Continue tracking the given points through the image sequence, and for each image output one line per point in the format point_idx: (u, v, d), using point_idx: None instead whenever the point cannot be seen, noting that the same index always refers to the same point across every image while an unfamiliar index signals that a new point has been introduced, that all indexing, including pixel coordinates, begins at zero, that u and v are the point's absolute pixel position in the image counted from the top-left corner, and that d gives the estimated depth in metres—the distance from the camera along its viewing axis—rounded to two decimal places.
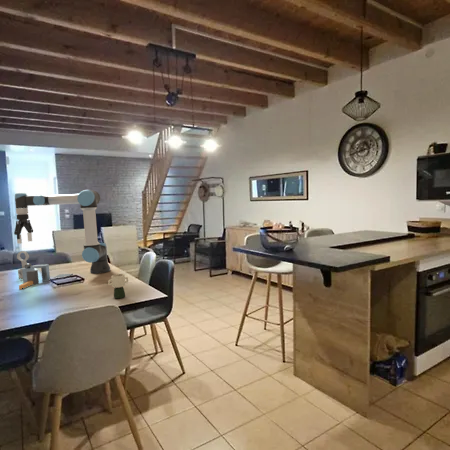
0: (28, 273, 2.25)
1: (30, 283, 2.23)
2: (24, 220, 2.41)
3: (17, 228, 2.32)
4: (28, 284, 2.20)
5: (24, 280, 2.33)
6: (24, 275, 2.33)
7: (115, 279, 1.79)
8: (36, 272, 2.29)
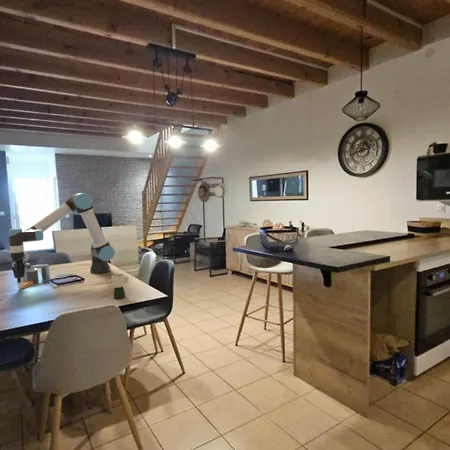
0: (28, 273, 2.25)
1: (30, 283, 2.23)
2: (19, 259, 2.12)
3: (15, 272, 2.08)
4: (28, 284, 2.20)
5: (24, 280, 2.33)
6: (24, 275, 2.33)
7: (115, 279, 1.79)
8: (36, 272, 2.29)
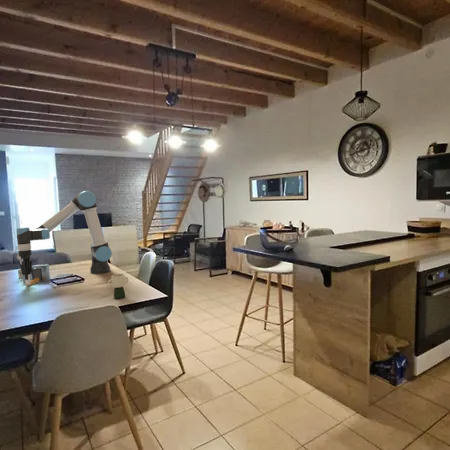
0: (35, 270, 2.34)
1: (37, 280, 2.31)
2: (27, 256, 2.20)
3: (23, 269, 2.16)
4: (35, 281, 2.29)
5: (24, 280, 2.33)
6: (24, 275, 2.33)
7: (115, 279, 1.79)
8: None
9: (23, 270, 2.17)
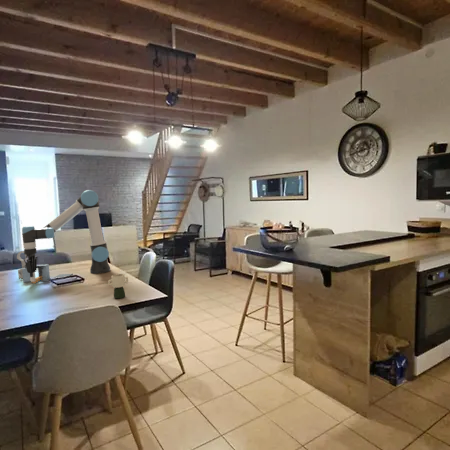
0: (39, 268, 2.40)
1: (41, 278, 2.38)
2: (32, 255, 2.27)
3: (28, 267, 2.23)
4: (40, 279, 2.35)
5: (24, 280, 2.33)
6: (24, 275, 2.33)
7: (115, 279, 1.79)
8: None
9: (28, 268, 2.23)
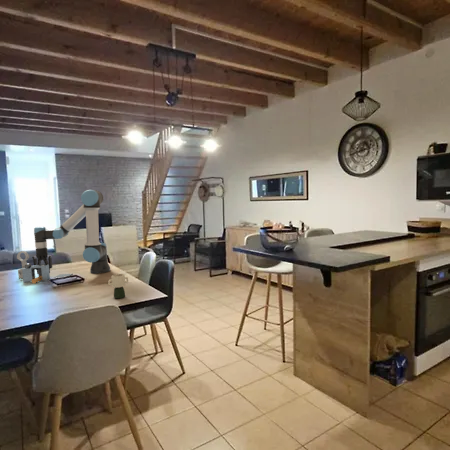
0: (39, 268, 2.40)
1: (41, 278, 2.38)
2: (41, 254, 2.41)
3: None
4: (40, 279, 2.35)
5: (24, 280, 2.33)
6: (24, 275, 2.33)
7: (115, 279, 1.79)
8: None
9: None
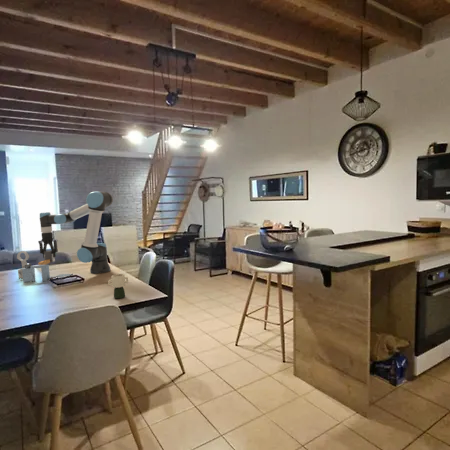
0: (45, 252, 2.49)
1: (48, 261, 2.47)
2: (46, 238, 2.50)
3: None
4: (46, 262, 2.44)
5: (24, 280, 2.33)
6: (24, 275, 2.33)
7: (115, 279, 1.79)
8: None
9: None
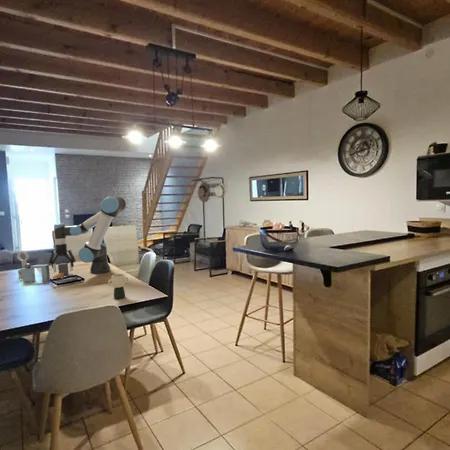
0: (59, 266, 2.46)
1: (61, 275, 2.44)
2: (60, 250, 2.47)
3: None
4: (60, 275, 2.41)
5: (24, 280, 2.33)
6: (24, 275, 2.33)
7: (115, 279, 1.79)
8: (66, 265, 2.50)
9: None
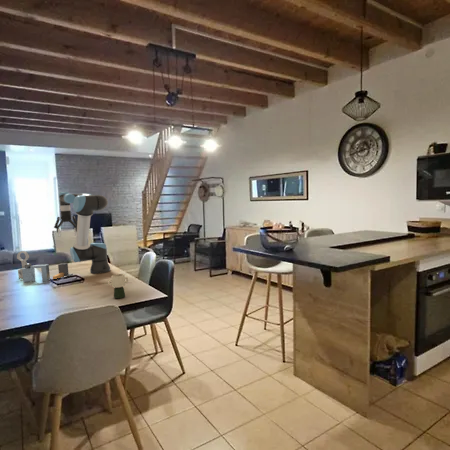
0: (59, 266, 2.46)
1: (61, 275, 2.44)
2: (65, 216, 2.68)
3: None
4: (60, 275, 2.41)
5: (24, 280, 2.33)
6: (24, 275, 2.33)
7: (115, 279, 1.79)
8: (66, 265, 2.50)
9: None
